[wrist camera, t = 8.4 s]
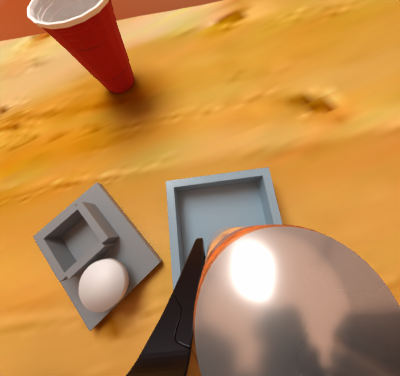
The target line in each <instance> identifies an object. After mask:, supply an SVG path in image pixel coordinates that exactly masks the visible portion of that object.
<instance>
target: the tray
mask: <svg viewBox="0 0 400 376" xmlns="http://www.w3.org/2000/svg"><path fill="white" fill-rule="evenodd" d="M166 189H167V204H168V219H169V234H170V249H171V264H172V279H173V290H174V288H175V286H176V283H177V281H178V279H179V277H180V274H181V272H182V270H183V267H184V265H185V263H186V260H187V258H188V256H189V254H190V251H191V249H192V247H193V244H194V242H195V240H196V239H197V238H203V242H204V247H205V256H206V254H207V248H208V243H209V239H210V237H211V235H212V234H213V233H214V232H215V231H216V230H218V229H220V228H223V227H248V226H255V225H276V224H279V225H283V224H282V220H281V216H280V212H279V208H278V204H277V200H276V196H275V192H274V188H273V183H272V179H271V175H270V171H269V167H267V168H260V169H252V170H245V171H238V172H230V173H223V174H216V175H208V176H201V177H193V178H186V179H179V180H171V181H166Z"/></svg>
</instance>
